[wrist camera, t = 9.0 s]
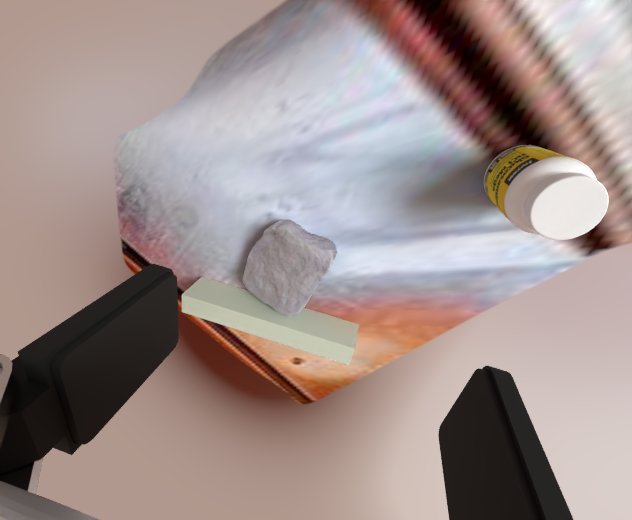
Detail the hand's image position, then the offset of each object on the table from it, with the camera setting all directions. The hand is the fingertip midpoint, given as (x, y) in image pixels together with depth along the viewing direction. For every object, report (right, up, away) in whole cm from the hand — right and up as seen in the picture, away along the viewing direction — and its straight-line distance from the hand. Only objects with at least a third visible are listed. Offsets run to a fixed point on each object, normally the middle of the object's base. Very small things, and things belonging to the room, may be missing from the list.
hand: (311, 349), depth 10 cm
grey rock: (-3, +3, +33) cm, 33 cm away
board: (-6, -4, +36) cm, 37 cm away
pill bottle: (+20, +11, +22) cm, 32 cm away
